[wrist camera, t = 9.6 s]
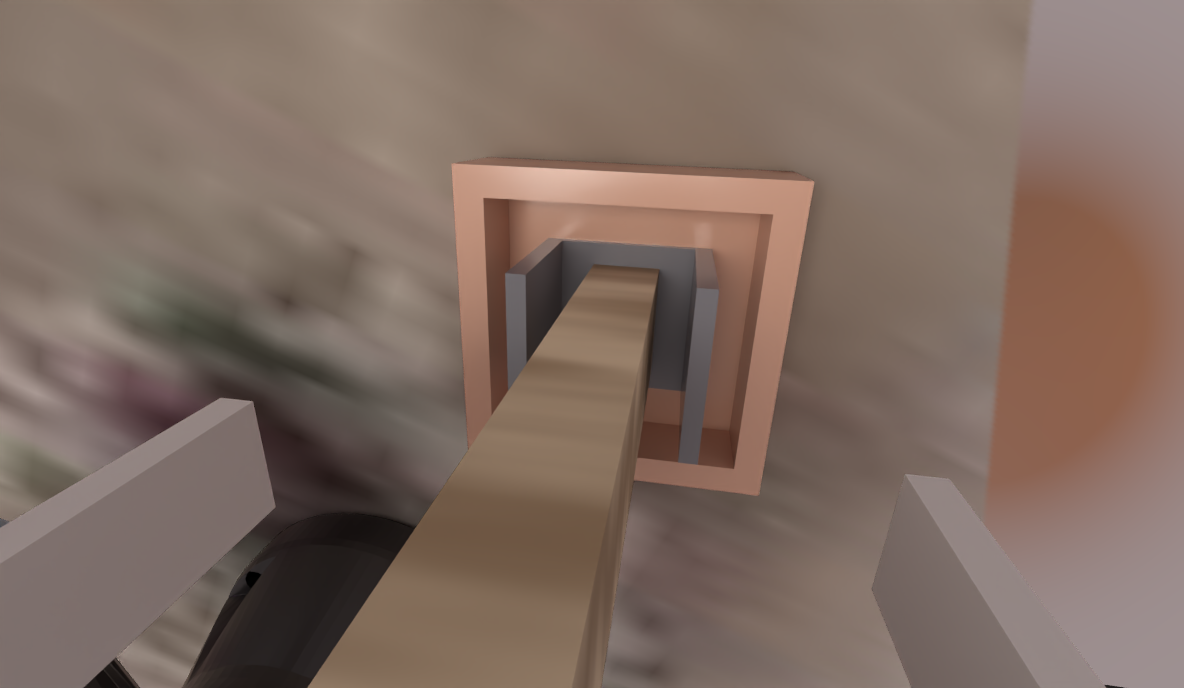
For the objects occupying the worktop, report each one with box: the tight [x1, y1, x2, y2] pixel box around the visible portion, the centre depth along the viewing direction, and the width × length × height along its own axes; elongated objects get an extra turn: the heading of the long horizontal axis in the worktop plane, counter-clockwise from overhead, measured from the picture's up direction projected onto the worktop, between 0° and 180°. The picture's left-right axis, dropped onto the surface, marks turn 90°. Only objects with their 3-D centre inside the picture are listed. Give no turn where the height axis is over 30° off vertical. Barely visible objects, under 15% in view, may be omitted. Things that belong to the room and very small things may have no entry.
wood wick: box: [308, 264, 659, 688], centre depth 13 cm, size 4×2×18 cm, turn 178°
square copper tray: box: [452, 157, 814, 496], centre depth 19 cm, size 11×11×6 cm
